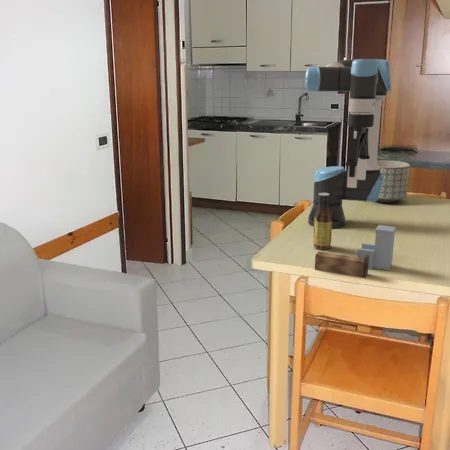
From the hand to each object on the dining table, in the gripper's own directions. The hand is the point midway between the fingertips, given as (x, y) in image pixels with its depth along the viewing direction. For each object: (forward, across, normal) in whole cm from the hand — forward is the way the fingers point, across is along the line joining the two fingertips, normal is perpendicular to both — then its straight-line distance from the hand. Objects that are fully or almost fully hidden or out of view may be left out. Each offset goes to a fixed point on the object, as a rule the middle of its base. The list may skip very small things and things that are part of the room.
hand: (356, 183), depth 164 cm
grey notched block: (+27, +4, -7) cm, 28 cm away
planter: (+26, +96, +4) cm, 99 cm away
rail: (+28, -6, +2) cm, 28 cm away
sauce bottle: (+27, +15, +14) cm, 34 cm away
